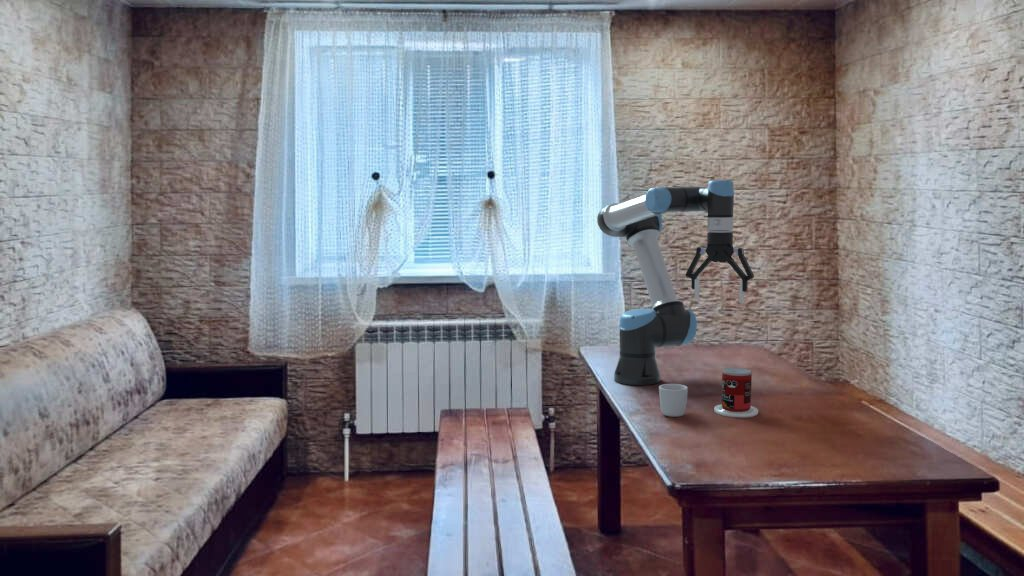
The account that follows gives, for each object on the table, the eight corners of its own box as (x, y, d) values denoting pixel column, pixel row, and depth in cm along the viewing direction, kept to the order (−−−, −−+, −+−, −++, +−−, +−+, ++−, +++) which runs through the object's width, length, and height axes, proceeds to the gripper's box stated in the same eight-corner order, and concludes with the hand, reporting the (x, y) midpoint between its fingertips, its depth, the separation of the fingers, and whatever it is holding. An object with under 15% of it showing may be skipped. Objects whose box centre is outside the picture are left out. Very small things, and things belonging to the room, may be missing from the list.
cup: (669, 407, 238) (669, 380, 237) (695, 411, 233) (696, 383, 232) (653, 415, 229) (654, 387, 228) (680, 420, 224) (681, 391, 223)
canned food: (717, 405, 235) (718, 367, 234) (744, 404, 236) (745, 367, 235) (727, 412, 228) (727, 373, 226) (754, 411, 228) (755, 373, 227)
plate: (709, 414, 230) (709, 411, 229) (719, 404, 240) (720, 401, 240) (753, 419, 224) (753, 416, 224) (761, 409, 234) (762, 406, 234)
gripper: (676, 231, 250) (675, 300, 252) (759, 232, 238) (758, 304, 241) (683, 230, 257) (682, 297, 259) (765, 231, 245) (763, 301, 247)
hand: (718, 301), depth 250 cm, fingers open, 13 cm apart
